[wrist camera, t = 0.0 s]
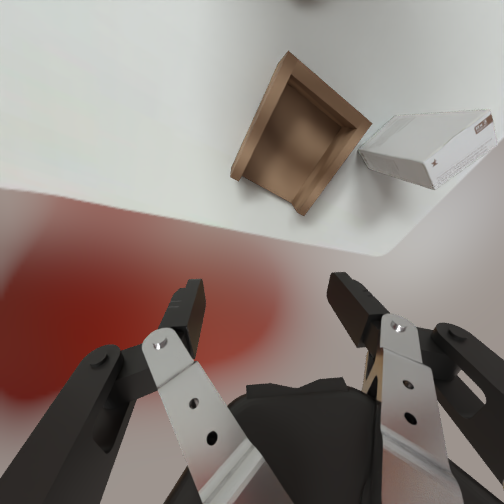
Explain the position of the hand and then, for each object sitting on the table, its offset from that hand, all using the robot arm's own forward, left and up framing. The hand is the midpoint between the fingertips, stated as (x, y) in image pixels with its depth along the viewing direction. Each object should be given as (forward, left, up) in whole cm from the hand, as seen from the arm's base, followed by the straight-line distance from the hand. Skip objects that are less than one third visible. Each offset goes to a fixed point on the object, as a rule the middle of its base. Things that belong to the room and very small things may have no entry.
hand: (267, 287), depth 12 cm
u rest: (-7, +3, -22) cm, 24 cm away
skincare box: (-14, +15, -23) cm, 31 cm away
